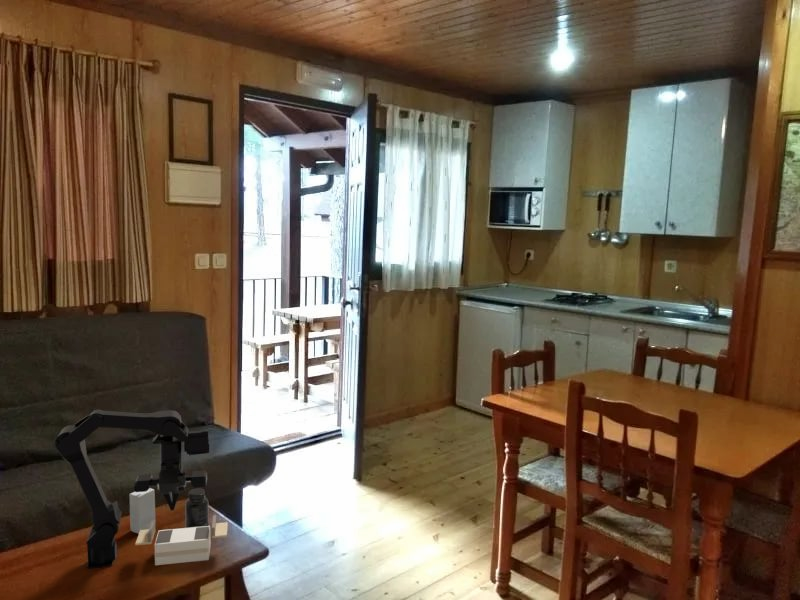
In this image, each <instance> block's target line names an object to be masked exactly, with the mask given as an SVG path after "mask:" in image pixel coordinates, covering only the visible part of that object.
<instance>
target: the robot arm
mask: <svg viewBox="0 0 800 600" xmlns="http://www.w3.org/2000/svg"><path fill="white" fill-rule="evenodd" d="M98 428H107V429H123V430H125V429H126V430H139V431H140V430H142V431H147V432H151V433H153V434H155V435H156V436H154V437H153V438H152V442H151V443H152V444H153V445H159V458H160V461H159V462H160V470H159V474H158V477H155V478H154V477H153V473H150V474H149V473H147V474H139V475H138V476H137V477H136V479H135V481H134V487H133V488H134V492H145V491H147V490H148V489H149V488H151V486H156V487H157V489H156V492H157V493H158V494H161V495H163V496H164V498H165V501H166V502H167V505H168V508H169V511H175V507H176V504H177V500H178V497H179V495H180V494H181V492H184V491H186V487H187V484H190V483H191V484H190V485H191V486H192V487H193V489H197V488H205V487H207V483H208V472H207V471H206V470H205V469H204V470H193V471H192V473H191V475H186V472H185V471H184V472H183V453H186V455H188V456H199V455H208V454H210V438H209V430H208V429H205V428H204V429H200V430H192V431H190V430H189V428H188V427H187V426H186V425H185V423H184V422H183V421H182V416H181V414H180V413H179V412H178V411H176V410H172V409H169V410H168V409H167V410H159V411H154V412H151V413H149V412H148V413H146V412H145V413H144V412H142V413H141V412H128V411H113V410H103V409H95V410H93V411H92V412H91V413H90V414H88V415H87V416H85V417H84V418H82V419H80V420H78V421H77V422H76V423H74V424H70V425H66V426H65V427H63V428H62V429H61V431H60V432H59V434H58V435H57V437H56V438H55V441H54V447H55V450H57V452H58V453H59V455H60V456H61V457H62V459H64V460H65V461H66V462H67V463H68V464H69V465H70V466H71V468H72V471H73V473H74V475H75V477H76V479H77V482H78V483H79V485H80V487H81V489H82V492H83V494H84V497H85V499H86V501H87V503H88V505H89V507H90V510H91V516H92V517H91V519H92V524H93V525H92V526H91V528H90V530H89V534H88V537H87V540H86V547H87V548H86V550H87V552H86V553H87V563H86V567H85V568H86V569H93V568H102V567H112V566H113V564H114V562H115V561H116V559H117V556H118V544H117V543H118V542H117V541H115V536H116V535H117V534H118V532H119V528H120V524H121V520H122V516H123V515H122V514H123V511H121V509H120V508H119V503H118V501H117V500H115V501H113V502H111V501H110V500H108V498H107V496H106V494H105V492H104V490H103V487H102V485H101V483H100V480H99V478H98V476H97V474H96V472H95V469H94V468H93V466H92V464H91V461H90V459H89V457H88V454H87V453H88V452H87V445H86V444H87V443H86V438H87V437H89V436H90V435H91V434H93V432H95V431H96V430H97V429H98ZM182 443H184V445H182ZM183 447H184V448H183ZM183 450H184V452H183ZM172 493H173V494H172Z"/></svg>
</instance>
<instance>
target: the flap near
mask: <svg viewBox="0 0 800 600" xmlns="http://www.w3.org/2000/svg"><path fill="white" fill-rule="evenodd" d="M155 533H156V519H155V520H154V521H152V522H151V525H150V528H149V529H147V530H140V532H139V534H138V536H137V538H136V541H135V545H134V546H143V545H145V546H146V545H152V543H153V540H154V536H155Z"/></svg>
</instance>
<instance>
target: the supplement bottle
mask: <svg viewBox="0 0 800 600" xmlns="http://www.w3.org/2000/svg"><path fill="white" fill-rule="evenodd" d="M187 494H188V497H187V500H186V502H185V503H184V510H185V511H184V513H185V515H184V516H185V518H184V519H185V523H184V524H185V525H184V526H185V528H191V527H202V526H210V523H209V522H210V520H209V519H210V518H209V517H210V515H209V513H210V510H209V499H208V498H207V497H206V490H205V489H204V488H201V487H197V488H193V489H190V490H189V491H188V493H187Z"/></svg>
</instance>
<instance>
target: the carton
mask: <svg viewBox="0 0 800 600" xmlns="http://www.w3.org/2000/svg"><path fill="white" fill-rule="evenodd" d="M210 551H211V525H209V526H202V527H191V528H186V527H182V528H172V529H171V528H169V529H161V530H158V532H157V535H156V538H155V542H154V566H162V565H163V566H164V565H173V564H181V563H183V564H184V563H191V562H193V563H194V562H201V561H202V562H203V561H209V560H210V553H211V552H210Z"/></svg>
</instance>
